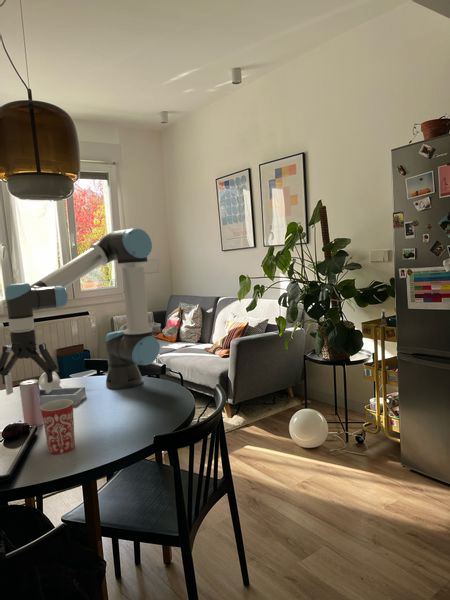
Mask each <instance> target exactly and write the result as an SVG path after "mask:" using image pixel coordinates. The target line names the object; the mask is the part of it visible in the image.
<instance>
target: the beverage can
mask: <svg viewBox="0 0 450 600" xmlns="http://www.w3.org/2000/svg"><path fill="white" fill-rule="evenodd" d="M40 389H41V387H40V385H39V379H27V380H23V381H21V382H20V383H19V392H20V399H21V401H20V402H21V408H22V417H23V423H28V424H30V426H31V427H34V426H37V427H40V426H42V425H44V423H43V417H42V412H41V410H40V407H41V406H42V404H41V396H40ZM37 427H36V428H37ZM34 428H35V427H34Z"/></svg>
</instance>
